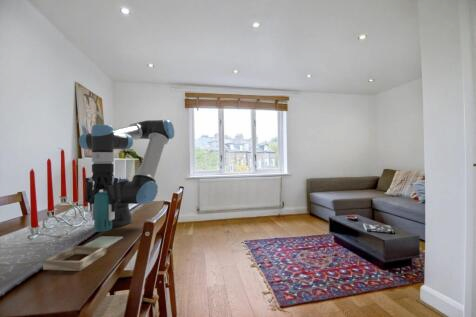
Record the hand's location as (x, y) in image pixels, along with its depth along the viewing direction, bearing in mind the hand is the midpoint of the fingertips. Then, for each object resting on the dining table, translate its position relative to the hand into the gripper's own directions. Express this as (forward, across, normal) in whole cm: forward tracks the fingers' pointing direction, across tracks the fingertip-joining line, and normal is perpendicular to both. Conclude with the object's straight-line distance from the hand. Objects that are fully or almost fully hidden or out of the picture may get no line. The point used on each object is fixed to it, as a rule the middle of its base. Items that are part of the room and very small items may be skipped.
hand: (103, 219), depth 89 cm
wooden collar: (+9, +2, -16) cm, 19 cm away
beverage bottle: (+6, 0, 0) cm, 6 cm away
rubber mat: (+9, 0, 0) cm, 9 cm away
